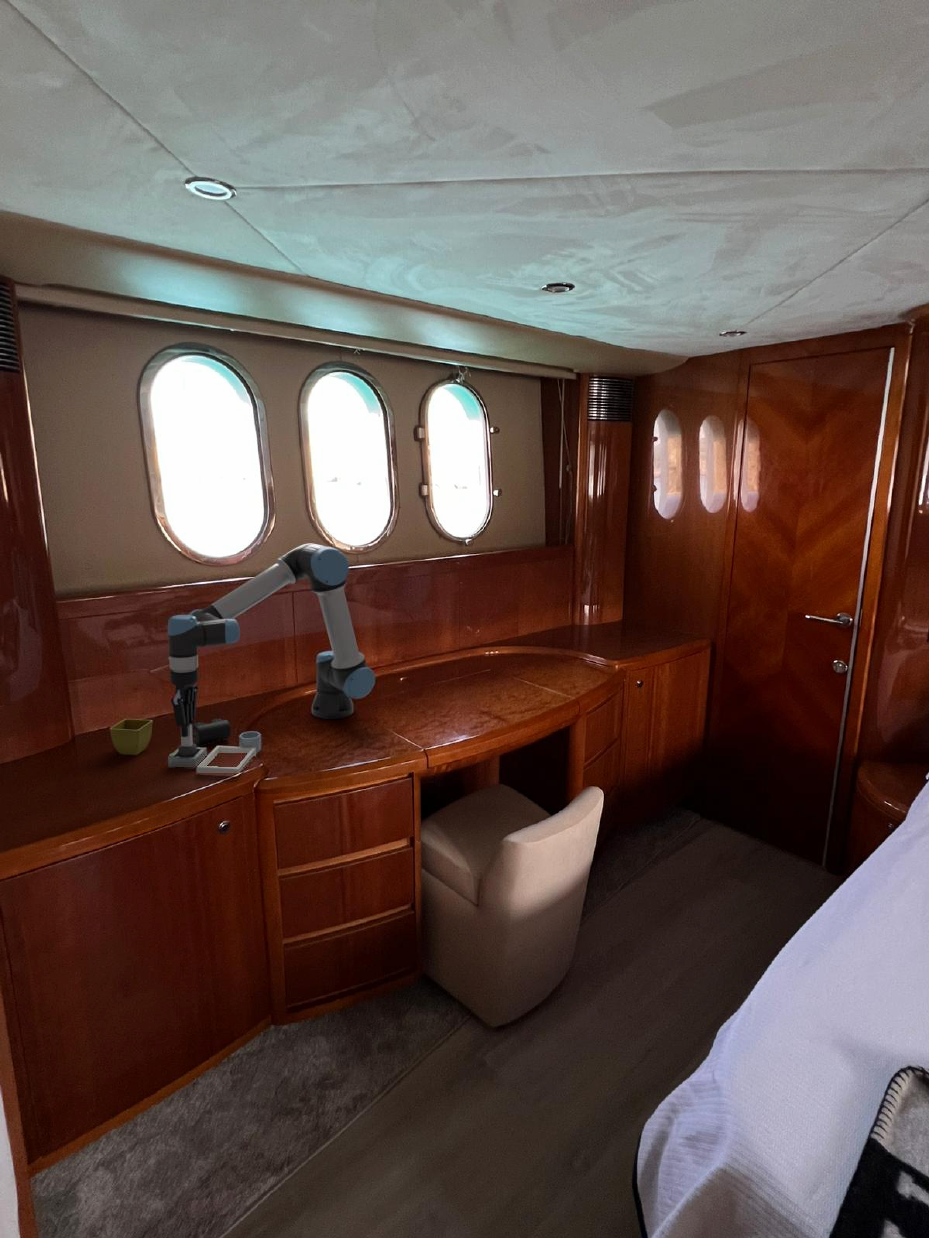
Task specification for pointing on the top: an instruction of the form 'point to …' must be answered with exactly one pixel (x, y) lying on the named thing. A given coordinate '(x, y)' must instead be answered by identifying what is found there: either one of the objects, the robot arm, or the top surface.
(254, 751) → the light grey rectangular frame
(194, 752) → the test button
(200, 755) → the box
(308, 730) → the top surface
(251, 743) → the blue-grey short hollow cylinder
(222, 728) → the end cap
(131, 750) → the flower pot
